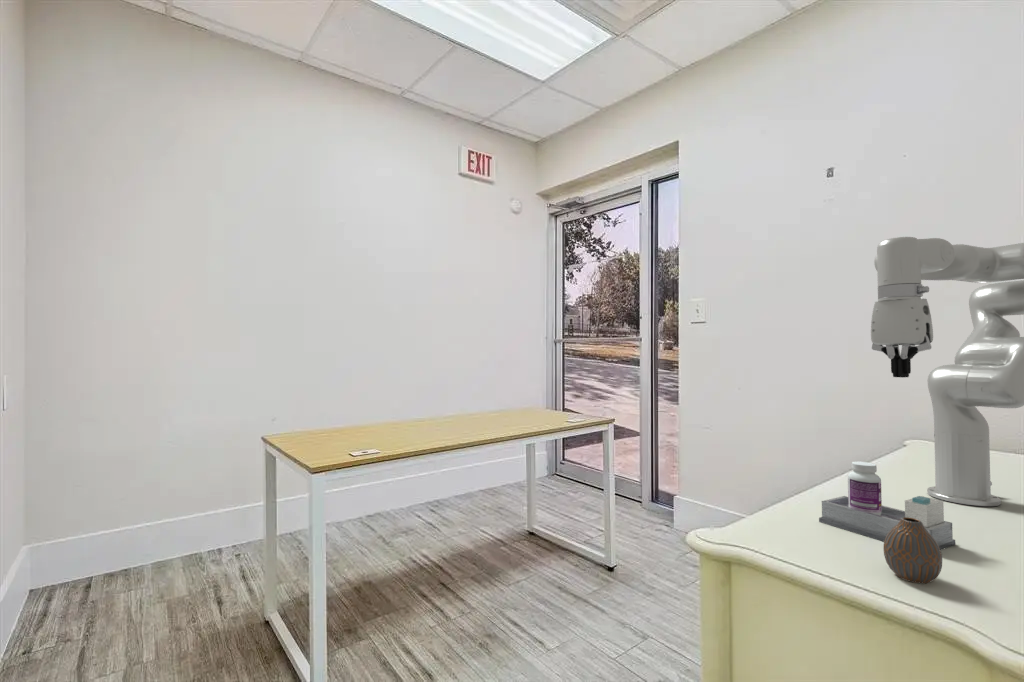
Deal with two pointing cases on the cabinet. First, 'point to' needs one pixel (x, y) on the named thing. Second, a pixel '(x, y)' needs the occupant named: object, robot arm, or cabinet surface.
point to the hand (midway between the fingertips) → (900, 376)
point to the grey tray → (889, 518)
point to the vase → (912, 552)
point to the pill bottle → (864, 488)
